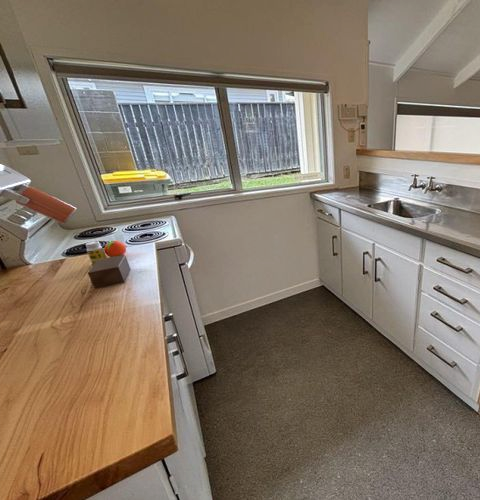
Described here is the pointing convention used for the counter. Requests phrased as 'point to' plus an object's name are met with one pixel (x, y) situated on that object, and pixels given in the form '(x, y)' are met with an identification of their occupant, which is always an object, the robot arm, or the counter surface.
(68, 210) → the cup
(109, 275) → the walnut block
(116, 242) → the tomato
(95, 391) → the counter surface
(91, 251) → the supplement bottle
